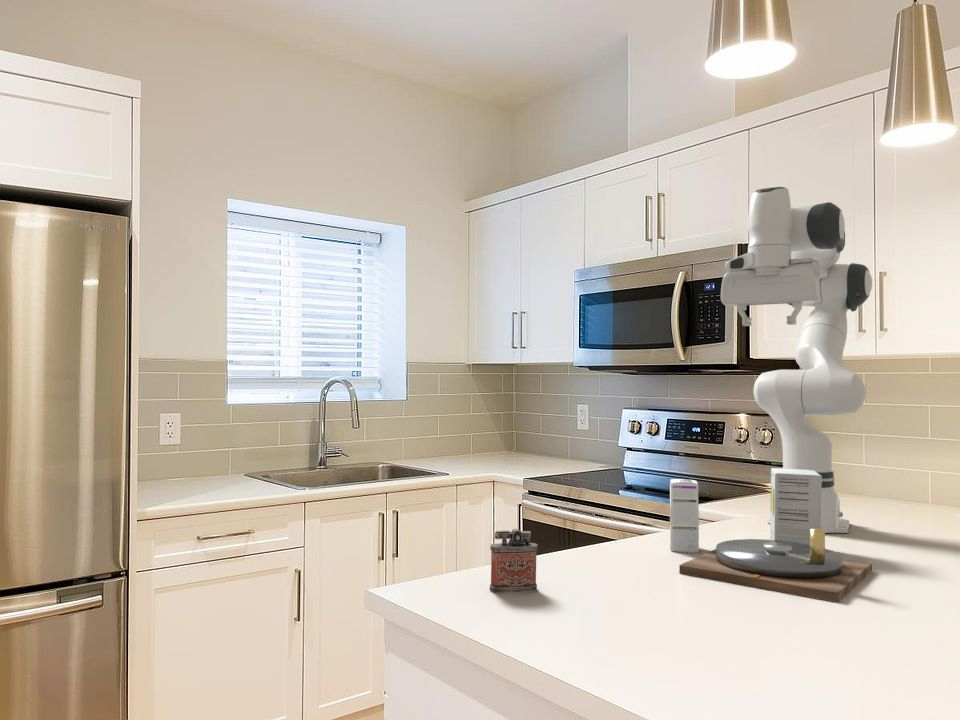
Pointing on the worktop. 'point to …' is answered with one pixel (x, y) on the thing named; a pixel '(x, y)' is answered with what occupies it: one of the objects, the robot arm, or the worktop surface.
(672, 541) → the syrup box
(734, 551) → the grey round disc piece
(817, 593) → the stand plate
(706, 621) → the worktop surface
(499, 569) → the lighter
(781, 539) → the supplement box
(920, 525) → the worktop surface
